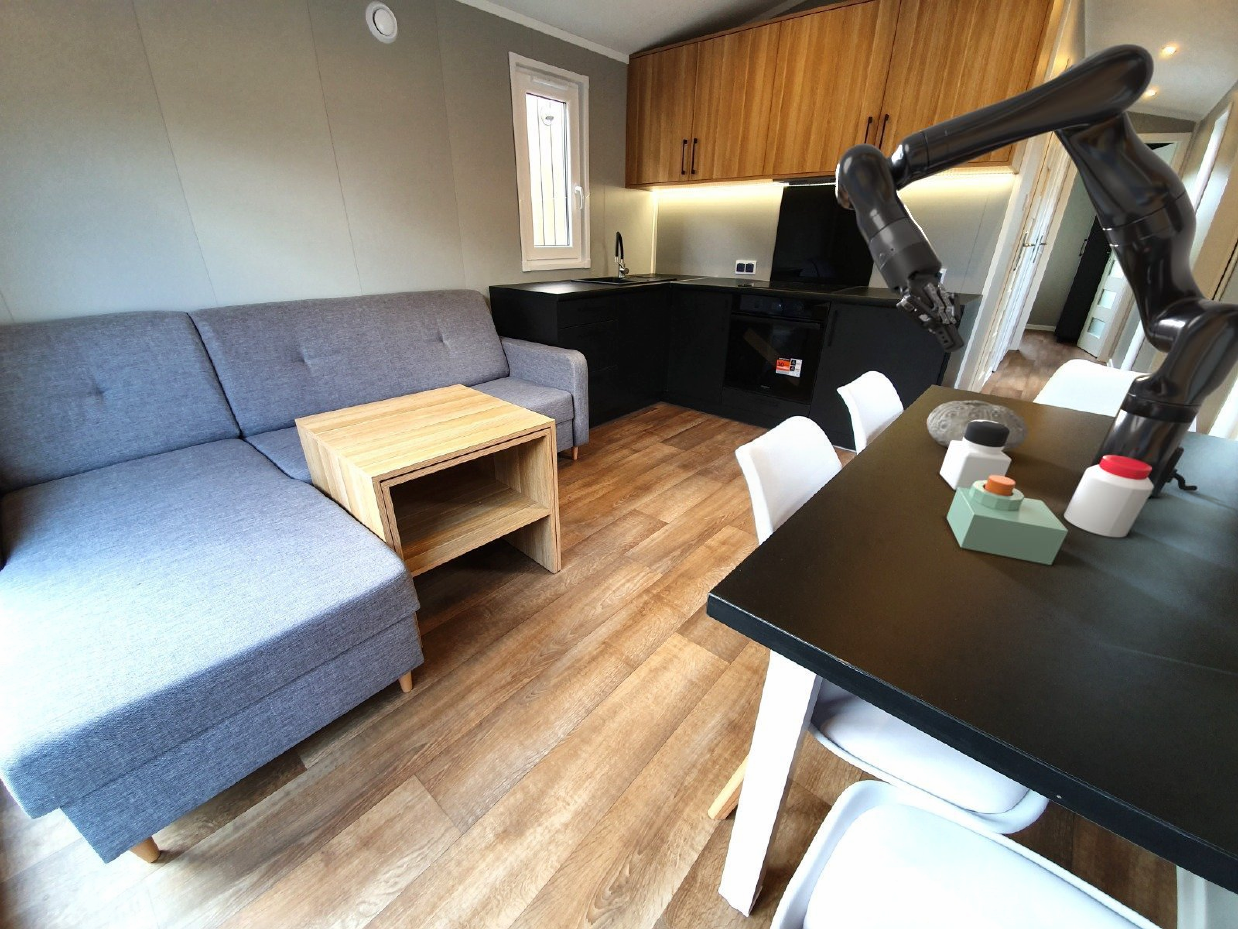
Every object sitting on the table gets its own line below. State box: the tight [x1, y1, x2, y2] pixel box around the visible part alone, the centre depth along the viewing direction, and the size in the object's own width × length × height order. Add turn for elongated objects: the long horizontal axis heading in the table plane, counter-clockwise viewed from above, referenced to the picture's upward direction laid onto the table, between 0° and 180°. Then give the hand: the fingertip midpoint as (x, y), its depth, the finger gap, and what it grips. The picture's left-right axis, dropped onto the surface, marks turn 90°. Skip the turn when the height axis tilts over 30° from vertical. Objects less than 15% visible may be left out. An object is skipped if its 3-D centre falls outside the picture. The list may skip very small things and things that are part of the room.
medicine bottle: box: [939, 420, 1012, 491], centre depth 88 cm, size 7×7×12 cm
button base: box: [946, 480, 1069, 566], centre depth 72 cm, size 11×9×8 cm
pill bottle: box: [1063, 455, 1154, 538], centre depth 76 cm, size 8×8×11 cm
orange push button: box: [985, 475, 1016, 496], centre depth 72 cm, size 3×3×2 cm
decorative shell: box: [926, 399, 1029, 454], centre depth 105 cm, size 18×18×10 cm
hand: (956, 349), depth 74 cm, fingers closed
